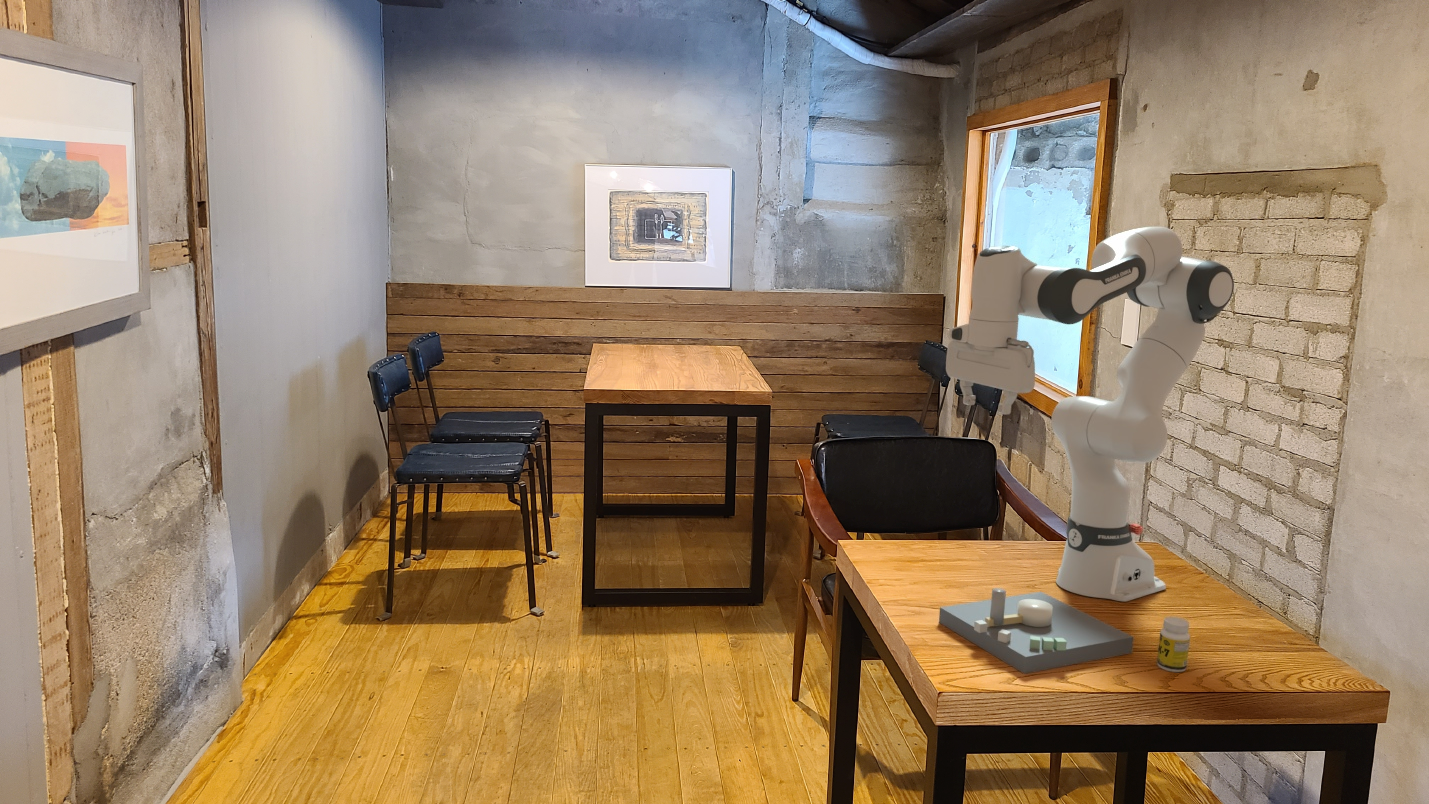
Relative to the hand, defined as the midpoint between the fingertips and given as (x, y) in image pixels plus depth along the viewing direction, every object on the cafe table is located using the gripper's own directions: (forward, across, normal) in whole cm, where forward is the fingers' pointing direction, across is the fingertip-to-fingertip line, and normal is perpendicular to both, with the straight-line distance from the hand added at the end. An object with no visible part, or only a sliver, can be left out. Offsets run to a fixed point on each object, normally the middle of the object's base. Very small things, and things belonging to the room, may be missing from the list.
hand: (986, 409), depth 204 cm
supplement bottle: (+40, -35, -15) cm, 55 cm away
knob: (+37, -14, +1) cm, 39 cm away
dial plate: (+40, -14, -2) cm, 42 cm away
